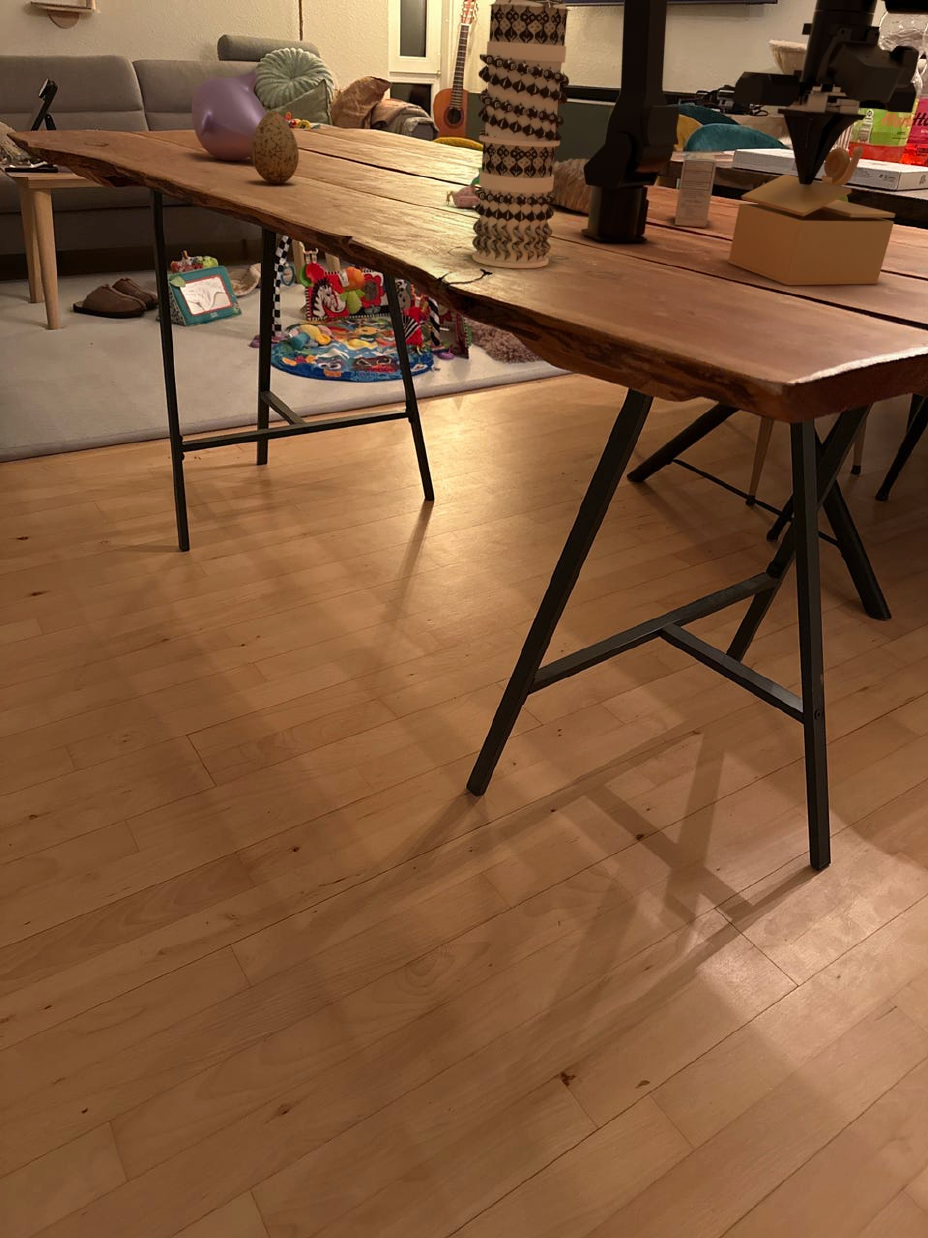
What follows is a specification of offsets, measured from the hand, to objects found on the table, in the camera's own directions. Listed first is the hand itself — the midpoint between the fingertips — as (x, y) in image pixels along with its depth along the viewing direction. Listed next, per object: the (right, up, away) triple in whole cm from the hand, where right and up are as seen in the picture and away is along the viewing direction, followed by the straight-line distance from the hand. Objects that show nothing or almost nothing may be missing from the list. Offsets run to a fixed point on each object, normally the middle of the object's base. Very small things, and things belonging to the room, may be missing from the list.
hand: (805, 184), depth 101 cm
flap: (-1, -1, 0) cm, 2 cm away
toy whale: (-77, +34, +65) cm, 107 cm away
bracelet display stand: (-32, -8, +2) cm, 33 cm away
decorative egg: (-66, +21, +45) cm, 83 cm away
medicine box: (-4, +10, +33) cm, 35 cm away
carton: (+1, -8, +5) cm, 9 cm away
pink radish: (-34, +10, +31) cm, 47 cm away
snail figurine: (+17, +11, +38) cm, 43 cm away
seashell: (-19, +14, +38) cm, 45 cm away
